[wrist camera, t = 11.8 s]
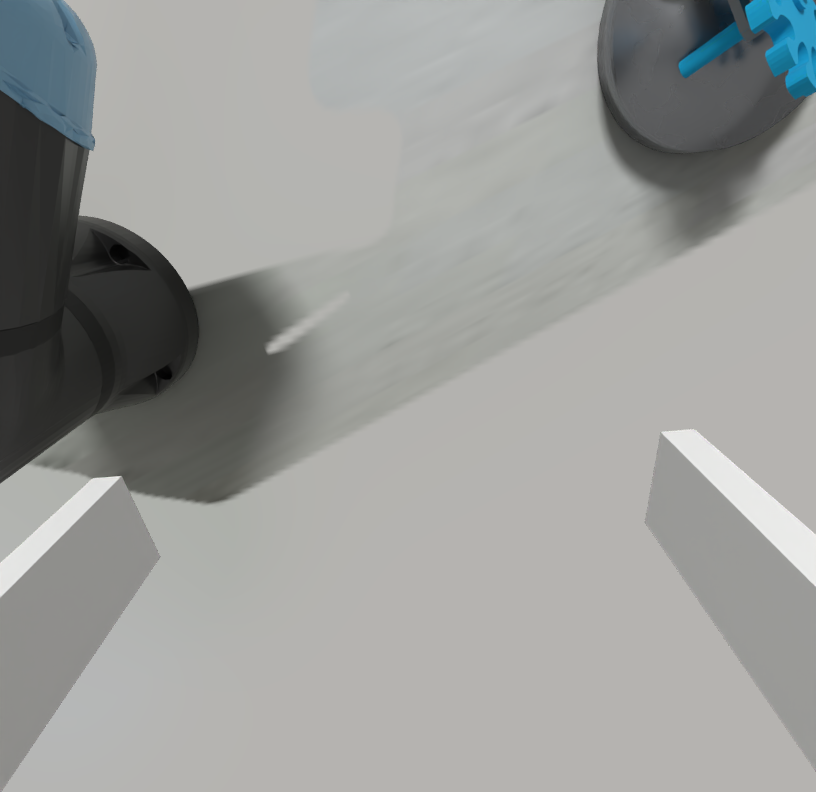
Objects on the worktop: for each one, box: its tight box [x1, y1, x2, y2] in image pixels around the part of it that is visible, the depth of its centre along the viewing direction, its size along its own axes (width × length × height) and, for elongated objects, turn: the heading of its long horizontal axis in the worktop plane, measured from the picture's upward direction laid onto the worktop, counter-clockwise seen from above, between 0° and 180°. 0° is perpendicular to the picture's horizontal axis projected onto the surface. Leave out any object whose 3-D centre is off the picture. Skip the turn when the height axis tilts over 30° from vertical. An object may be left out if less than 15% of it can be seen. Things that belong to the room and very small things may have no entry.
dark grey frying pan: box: [598, 0, 816, 154], centre depth 26 cm, size 17×14×2 cm
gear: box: [679, 0, 816, 100], centre depth 24 cm, size 11×6×10 cm
